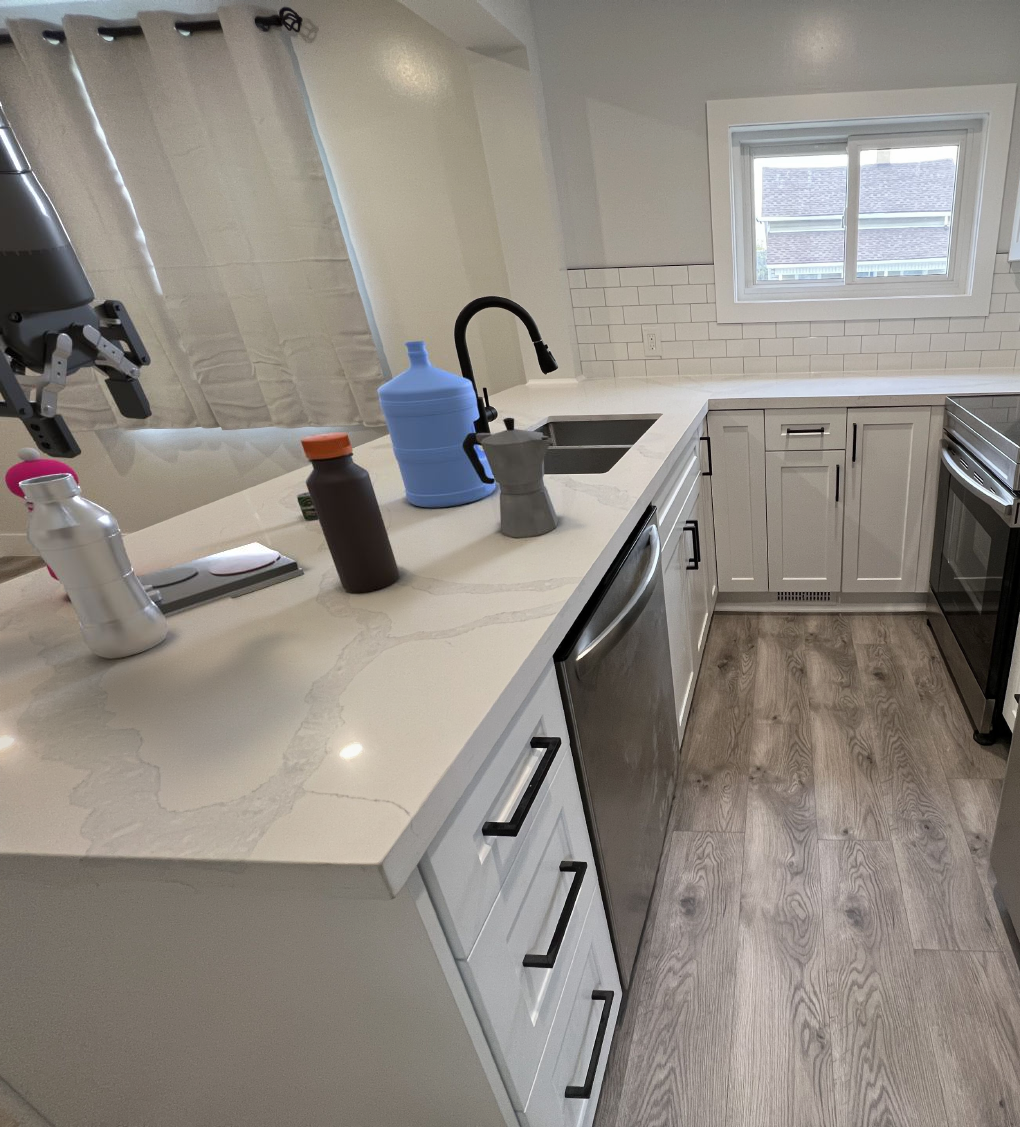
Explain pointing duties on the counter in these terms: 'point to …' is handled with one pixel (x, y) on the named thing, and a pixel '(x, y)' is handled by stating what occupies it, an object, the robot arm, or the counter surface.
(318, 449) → the vinegar
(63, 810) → the counter surface
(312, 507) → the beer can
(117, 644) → the silver metal bottle
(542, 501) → the coffeepot
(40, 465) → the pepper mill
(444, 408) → the water jug
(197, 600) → the hob
